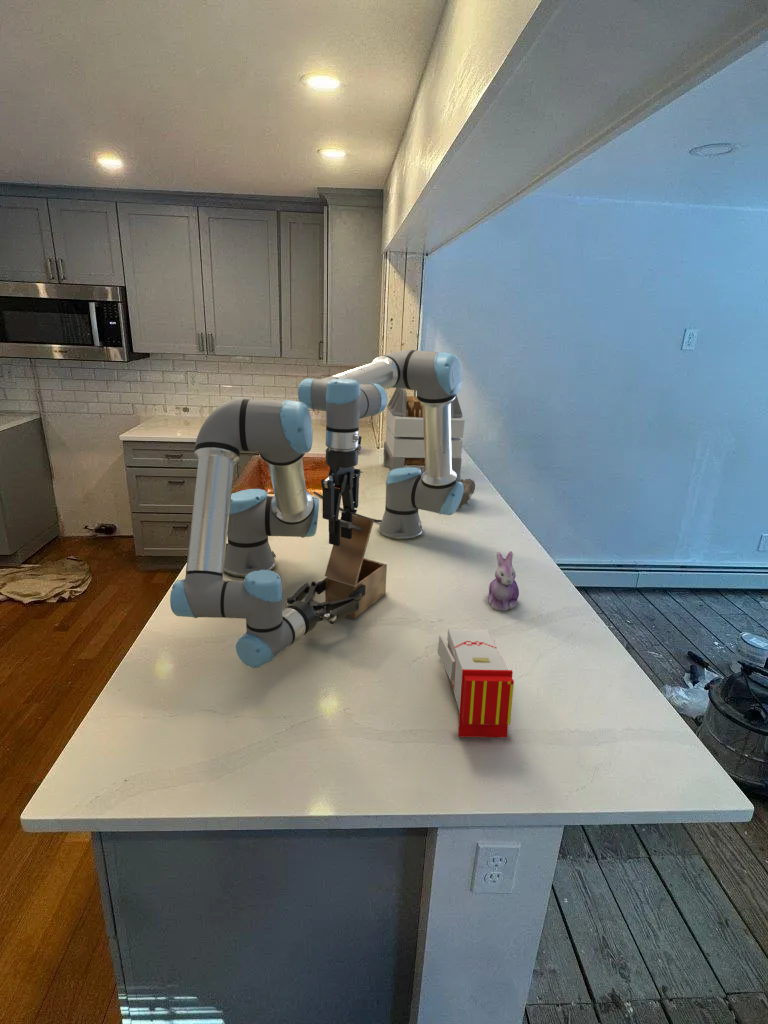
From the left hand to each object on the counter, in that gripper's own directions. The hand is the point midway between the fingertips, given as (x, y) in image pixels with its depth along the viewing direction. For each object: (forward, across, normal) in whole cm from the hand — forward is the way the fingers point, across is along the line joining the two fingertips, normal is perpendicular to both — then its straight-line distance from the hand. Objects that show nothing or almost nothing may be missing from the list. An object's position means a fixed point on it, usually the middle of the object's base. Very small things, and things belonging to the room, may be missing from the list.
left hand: (348, 584), depth 147 cm
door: (+1, 0, +10) cm, 10 cm away
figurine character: (+146, -90, -6) cm, 171 cm away
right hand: (-4, 0, +14) cm, 14 cm away
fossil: (+97, -9, -7) cm, 98 cm away
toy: (-15, +40, -7) cm, 44 cm away
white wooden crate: (+129, -42, -7) cm, 136 cm away
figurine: (+26, +34, -7) cm, 43 cm away
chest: (+4, 0, -7) cm, 8 cm away
